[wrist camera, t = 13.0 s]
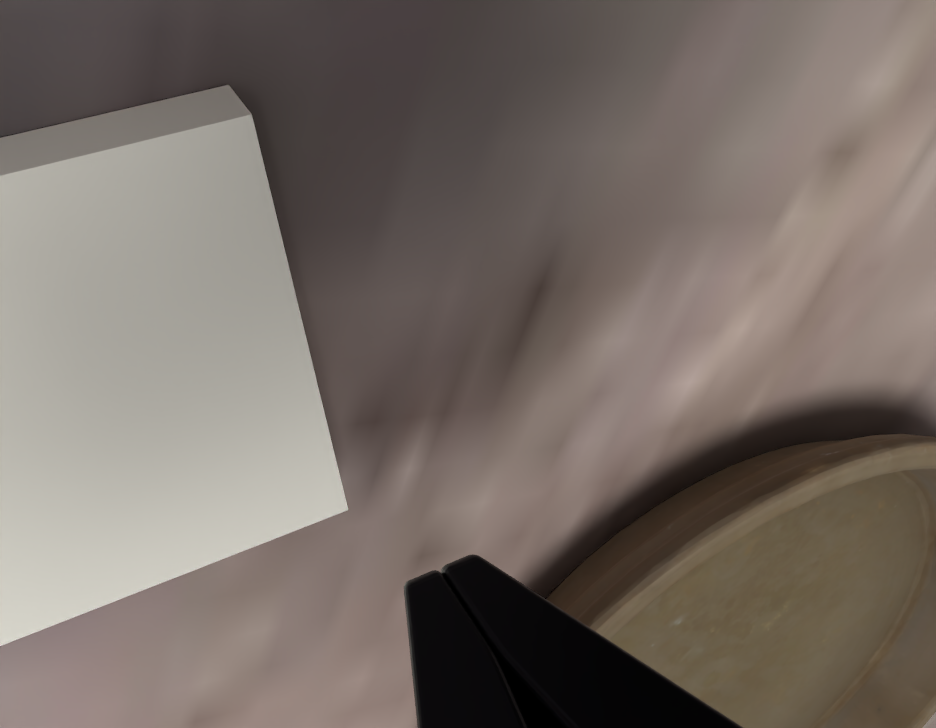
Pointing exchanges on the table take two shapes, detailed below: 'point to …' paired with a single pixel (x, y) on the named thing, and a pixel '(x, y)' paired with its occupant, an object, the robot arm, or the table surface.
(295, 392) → the bench slab
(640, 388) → the table surface
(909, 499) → the plant saucer
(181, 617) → the table surface
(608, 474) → the table surface
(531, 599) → the robot arm
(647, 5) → the table surface
